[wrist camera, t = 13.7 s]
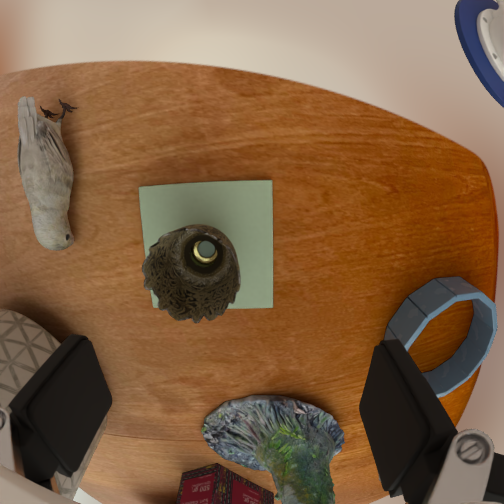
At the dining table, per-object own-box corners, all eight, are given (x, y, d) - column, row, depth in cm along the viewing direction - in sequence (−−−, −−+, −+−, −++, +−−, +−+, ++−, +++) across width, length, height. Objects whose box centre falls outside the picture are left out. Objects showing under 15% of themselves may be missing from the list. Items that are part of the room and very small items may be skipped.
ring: (394, 280, 30) (414, 299, 26) (487, 273, 30) (509, 287, 25) (371, 386, 35) (383, 410, 30) (458, 367, 34) (474, 386, 30)
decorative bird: (57, 244, 30) (18, 264, 22) (47, 111, 25) (5, 105, 18) (92, 241, 29) (54, 262, 22) (82, 99, 25) (41, 88, 18)
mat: (140, 186, 28) (138, 187, 27) (271, 179, 27) (272, 180, 27) (154, 305, 32) (153, 307, 31) (272, 305, 31) (273, 308, 31)
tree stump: (202, 379, 35) (227, 499, 18) (339, 370, 40) (407, 453, 23) (198, 457, 39) (217, 548, 22) (310, 445, 45) (350, 519, 28)
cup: (257, 265, 29) (258, 301, 22) (194, 295, 30) (175, 336, 23) (221, 197, 27) (208, 210, 20) (157, 232, 28) (124, 257, 21)
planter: (-19, 287, 32) (-114, 356, 9) (96, 309, 32) (-23, 451, 9) (24, 401, 39) (-31, 478, 16) (131, 436, 39) (90, 551, 16)
